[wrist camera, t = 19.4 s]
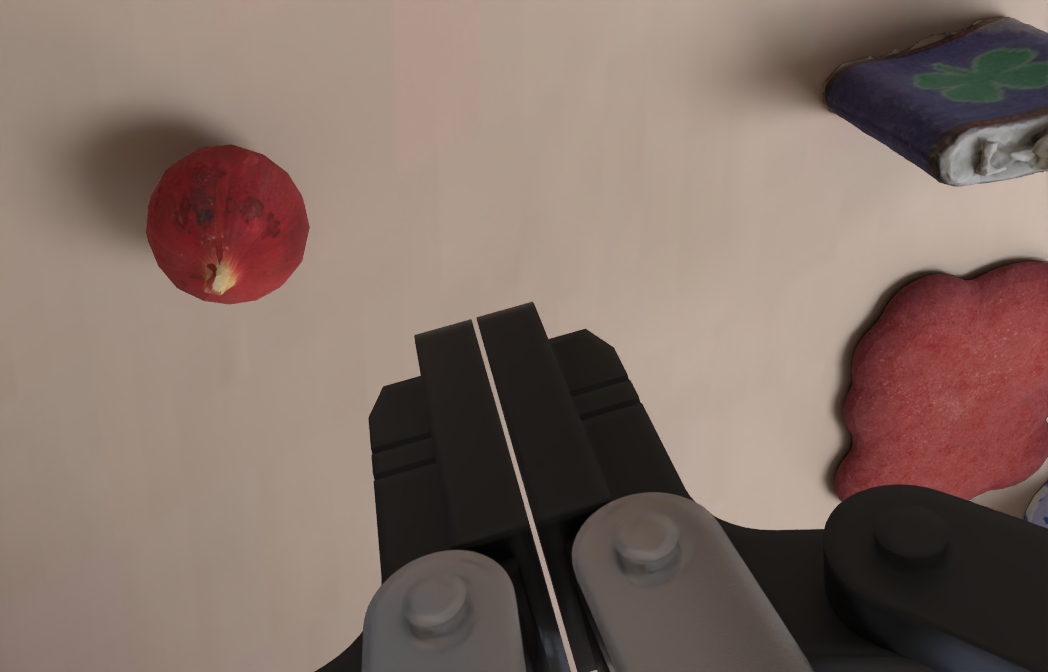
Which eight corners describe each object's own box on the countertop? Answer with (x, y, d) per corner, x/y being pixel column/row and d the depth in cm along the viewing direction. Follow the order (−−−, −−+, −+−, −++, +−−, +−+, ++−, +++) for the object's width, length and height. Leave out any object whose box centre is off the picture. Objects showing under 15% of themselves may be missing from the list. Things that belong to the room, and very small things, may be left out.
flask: (1018, 6, 39) (1220, 80, 30) (1013, 70, 41) (1203, 158, 32) (819, 67, 39) (964, 159, 30) (821, 129, 41) (960, 233, 32)
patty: (1031, 477, 57) (1052, 499, 55) (825, 525, 56) (840, 549, 54) (1098, 235, 47) (1127, 252, 46) (851, 285, 46) (871, 305, 44)
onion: (143, 128, 35) (102, 215, 28) (292, 109, 36) (286, 189, 29) (184, 259, 38) (156, 364, 32) (320, 239, 39) (321, 338, 32)
